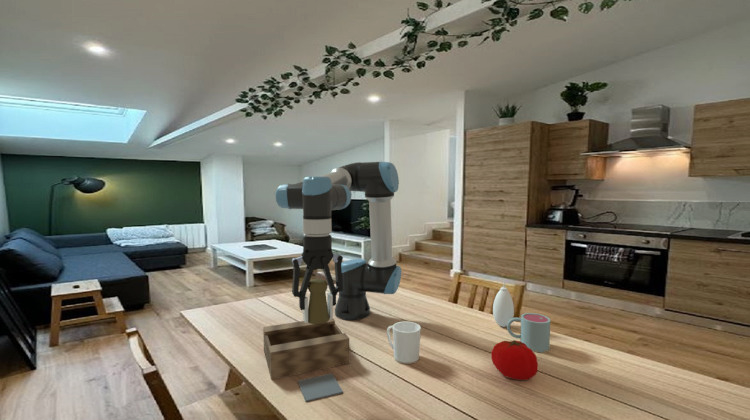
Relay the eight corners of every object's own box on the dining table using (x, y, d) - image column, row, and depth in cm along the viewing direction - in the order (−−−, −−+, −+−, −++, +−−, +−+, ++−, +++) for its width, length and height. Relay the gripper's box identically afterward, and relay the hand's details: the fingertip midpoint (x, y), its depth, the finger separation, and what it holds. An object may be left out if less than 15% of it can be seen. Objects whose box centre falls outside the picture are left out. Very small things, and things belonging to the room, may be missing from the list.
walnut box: (331, 338, 128) (331, 316, 128) (349, 363, 110) (349, 338, 110) (263, 350, 119) (263, 327, 118) (271, 379, 101) (270, 352, 100)
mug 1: (422, 353, 116) (423, 323, 116) (417, 367, 108) (417, 334, 107) (390, 348, 120) (390, 319, 119) (382, 361, 112) (382, 329, 111)
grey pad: (332, 374, 104) (332, 373, 104) (342, 393, 94) (342, 391, 94) (297, 382, 100) (297, 380, 100) (305, 402, 90) (305, 400, 90)
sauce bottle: (491, 328, 137) (492, 282, 136) (493, 321, 144) (494, 277, 143) (513, 331, 134) (514, 284, 133) (513, 323, 141) (515, 279, 140)
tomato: (534, 390, 96) (535, 354, 95) (486, 377, 102) (487, 342, 102) (540, 372, 105) (541, 338, 104) (496, 361, 112) (497, 329, 111)
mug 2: (548, 343, 124) (549, 315, 124) (549, 354, 116) (550, 324, 115) (507, 336, 130) (508, 309, 129) (505, 346, 122) (506, 318, 121)
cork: (324, 325, 92) (324, 283, 92) (303, 323, 94) (302, 282, 93) (332, 316, 98) (332, 277, 98) (311, 314, 100) (311, 276, 99)
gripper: (346, 231, 101) (347, 309, 103) (278, 234, 94) (280, 319, 96) (355, 234, 95) (355, 318, 96) (283, 238, 87) (284, 329, 89)
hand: (318, 318), depth 96 cm, fingers closed on cork, 6 cm apart
